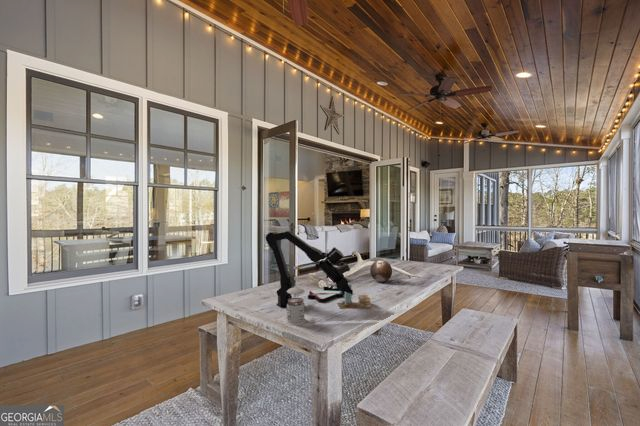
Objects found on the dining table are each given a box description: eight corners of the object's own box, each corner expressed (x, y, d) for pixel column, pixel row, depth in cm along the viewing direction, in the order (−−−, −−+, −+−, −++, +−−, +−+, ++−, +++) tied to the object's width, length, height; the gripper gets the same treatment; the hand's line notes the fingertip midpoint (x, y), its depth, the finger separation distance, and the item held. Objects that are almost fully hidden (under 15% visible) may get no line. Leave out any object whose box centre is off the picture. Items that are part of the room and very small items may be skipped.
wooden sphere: (370, 283, 207) (370, 261, 207) (369, 278, 222) (369, 258, 222) (393, 284, 205) (393, 262, 205) (391, 279, 220) (391, 258, 220)
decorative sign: (356, 288, 183) (325, 300, 160) (356, 294, 183) (325, 307, 160) (331, 283, 195) (299, 294, 171) (331, 289, 195) (299, 300, 171)
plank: (345, 306, 156) (345, 284, 156) (344, 304, 158) (344, 283, 158) (351, 306, 156) (351, 284, 156) (350, 304, 159) (350, 283, 159)
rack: (339, 311, 152) (339, 300, 152) (337, 305, 162) (337, 294, 162) (371, 310, 153) (371, 299, 153) (366, 304, 163) (366, 293, 163)
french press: (284, 325, 134) (284, 268, 133) (285, 316, 145) (285, 263, 145) (306, 325, 134) (306, 268, 134) (306, 315, 146) (306, 263, 145)
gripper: (343, 261, 147) (366, 284, 148) (338, 255, 166) (358, 275, 167) (327, 278, 147) (349, 300, 148) (323, 270, 165) (343, 290, 166)
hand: (350, 290), depth 157 cm, fingers open, 9 cm apart
